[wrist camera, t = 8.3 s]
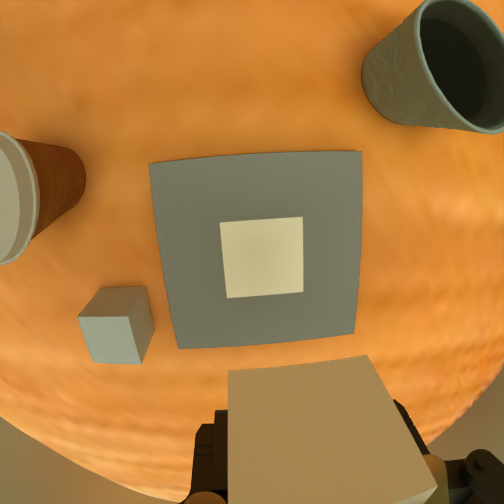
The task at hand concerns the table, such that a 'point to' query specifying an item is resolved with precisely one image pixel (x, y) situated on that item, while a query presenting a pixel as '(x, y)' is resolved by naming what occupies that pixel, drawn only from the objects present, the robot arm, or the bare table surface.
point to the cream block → (320, 438)
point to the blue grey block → (117, 325)
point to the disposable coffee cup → (34, 190)
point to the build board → (260, 245)
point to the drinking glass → (440, 69)
